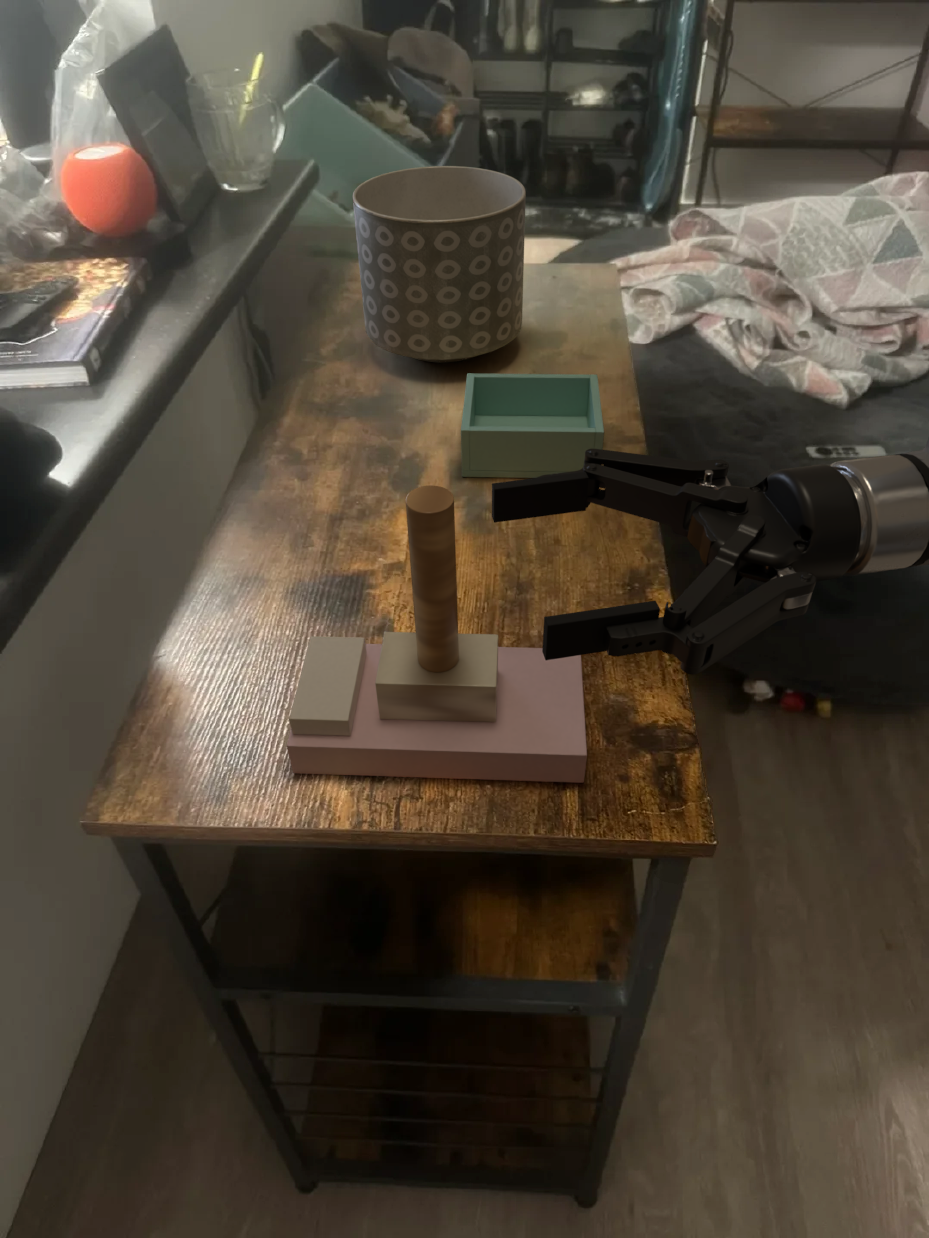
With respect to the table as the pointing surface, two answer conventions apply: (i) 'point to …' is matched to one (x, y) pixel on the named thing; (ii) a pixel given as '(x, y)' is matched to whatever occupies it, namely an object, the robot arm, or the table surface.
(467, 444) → the green open box
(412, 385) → the table surface
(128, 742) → the table surface
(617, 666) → the table surface
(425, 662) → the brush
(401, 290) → the planter
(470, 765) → the bed
